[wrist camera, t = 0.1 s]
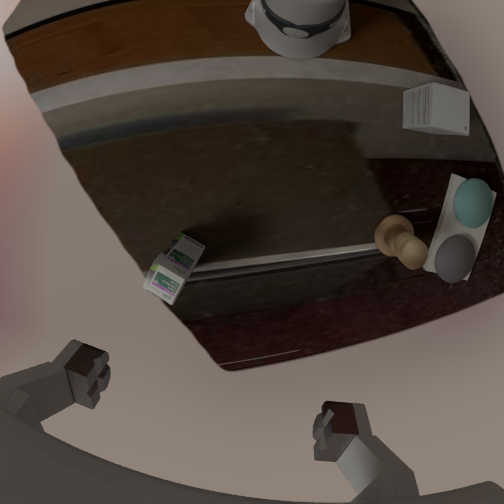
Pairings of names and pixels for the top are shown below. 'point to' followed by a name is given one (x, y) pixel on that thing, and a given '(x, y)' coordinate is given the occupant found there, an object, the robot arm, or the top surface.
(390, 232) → the brown cylinder round base
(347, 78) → the top surface
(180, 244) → the syrup box
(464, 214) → the double oval pad board
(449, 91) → the supplement box
